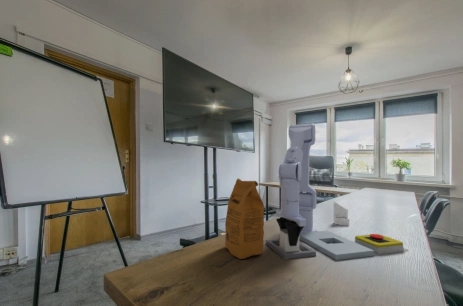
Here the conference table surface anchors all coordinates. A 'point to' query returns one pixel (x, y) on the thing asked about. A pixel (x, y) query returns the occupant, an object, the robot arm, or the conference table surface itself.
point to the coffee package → (244, 220)
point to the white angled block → (340, 215)
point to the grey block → (287, 242)
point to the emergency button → (380, 243)
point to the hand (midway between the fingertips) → (289, 243)
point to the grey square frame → (305, 253)
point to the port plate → (335, 245)
